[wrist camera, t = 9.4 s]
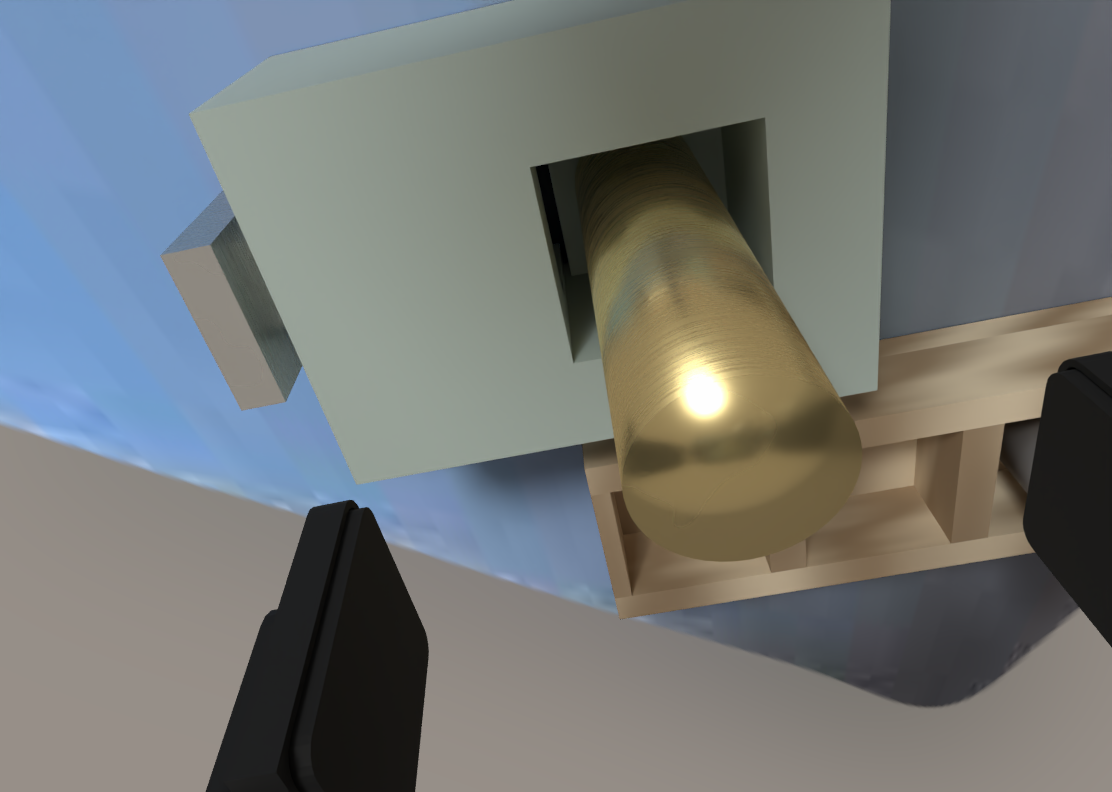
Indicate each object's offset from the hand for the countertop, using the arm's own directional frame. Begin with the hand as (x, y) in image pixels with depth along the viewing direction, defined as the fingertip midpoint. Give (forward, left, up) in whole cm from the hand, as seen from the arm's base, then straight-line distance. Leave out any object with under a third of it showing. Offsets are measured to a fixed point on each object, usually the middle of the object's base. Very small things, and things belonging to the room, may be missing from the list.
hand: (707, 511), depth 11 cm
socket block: (+1, 0, -14) cm, 14 cm away
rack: (-7, +11, -14) cm, 19 cm away
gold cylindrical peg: (-1, 0, -13) cm, 13 cm away
